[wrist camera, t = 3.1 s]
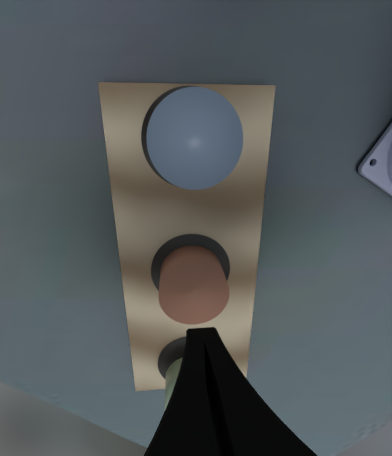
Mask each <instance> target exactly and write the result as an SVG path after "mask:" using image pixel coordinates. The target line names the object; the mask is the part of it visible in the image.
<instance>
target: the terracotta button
mask: <svg viewBox="0 0 392 456" xmlns="http://www.w3.org/2000/svg"><path fill="white" fill-rule="evenodd" d="M158 299H159V304H160V306H161V308H162V310H163V312H164V313H165V314H166V315H167V316H168V317H169V318H171V319H172V320H174V321H176V322H179V323H182V324H189V325H195V324H201V323H205V322H208V321H210V320H212V319H214V318H215V317H217V316H218V315H219V314H220V313H221V312H222V311H223V310H224V308H225V307H226V305H227V303H228V300H229V286H228V283H227V280H226V277H225V275H224V272H223V269H222V267H221V264H220V261H219V260H218V258H217V257H216V255H215V254H214V253H213V252H211V251H210V250H208V249H206V248H204V247H201V246H195V245H190V246H184V247H181V248H178V249H176V250H174V251H173V252H171V253H170V254H169V255H168V256H167V257H166V259H165V260H164V262H163V264H162V267H161V272H160V283H159V294H158Z"/></svg>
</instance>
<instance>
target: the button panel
mask: <svg viewBox="0 0 392 456" xmlns="http://www.w3.org/2000/svg"><path fill="white" fill-rule="evenodd" d="M98 85H99V93H100V102H101V110H102V118H103V126H104V135H105V143H106V151H107V159H108V167H109V176H110V184H111V192H112V200H113V208H114V217H115V225H116V233H117V241H118V250H119V258H120V266H121V274H122V282H123V291H124V299H125V307H126V315H127V323H128V332H129V340H130V348H131V356H132V365H133V373H134V381H135V389H136V391H144V390H155V389H165V381H166V372H167V369H168V368H169V366H170V365H171V364H172V363H173V362H175V361H176V360H178V359H180V358H182V357H183V354H184V349H185V344H186V330H188V329H190V328H206V327H215V328H216V329H217V331H218V333H219V336H220V337H221V339H222V341H223V343H224V345H225V347H226V348H227V350H228V352H229V353H230V355H231V357H232V358H233V360H234V361H235V363H236V364H237V366H238V367H239V369H240V370H241V372H242V373H243V375H244V376H245V377H246V375H247V365H248V355H249V345H250V335H251V325H252V315H253V305H254V296H255V286H256V276H257V266H258V256H259V246H260V236H261V226H262V216H263V206H264V196H265V186H266V176H267V166H268V156H269V146H270V136H271V126H272V116H273V106H274V96H275V86H276V85H226V84H172V83H118V82H98ZM187 87H203V88H207V89H210V90H213V91H215V92H217V93H219V94H220V95H222V96H223V97H224V98H226V99H227V100H228V101H229V102H230V103H231V105H232V106H233V107H234V109H235V110H236V112H237V114H238V116H239V119H240V121H241V125H242V129H243V147H242V152H241V155H240V158H239V161H238V163H237V164H236V166H235V168H234V169H233V171H232V172H231V173H230V174H229V175H228V176H227V177H226V178H225V179H224V180H223V181H221V182H220V183H218V184H216V185H214V186H212V187H209V188H206V189H201V190H189V189H184V188H180V187H178V186H175V185H173V184H172V183H170V182H168V181H167V180H166V179H165V178H163V177H162V176H161V175H160V173H159V172H158V171H157V170H156V168H155V167H154V165H153V163H152V161H151V159H150V156H149V153H148V149H147V128H148V124H149V120H150V118H151V115H152V113H153V112H154V110H155V108H156V107H157V106H158V104H159V103H160V102H161V101H162V100H163V99H164V98H165V97H167V96H168V95H169V94H171V93H173V92H175V91H177V90H179V89H182V88H187ZM190 245H195V246H201V247H204V248H206V249H208V250H210V251H211V252H213V253H214V254H215V255H216V257H217V258H218V260H219V261H220V264H221V267H222V269H223V272H224V275H225V277H226V280H227V283H228V286H229V300H228V303H227V305H226V307H225V308H224V310H223V311H222V312H221V313H220V314H219V315H218V316H217V317H215V318H214V319H212V320H210V321H208V322H205V323H201V324H195V325H189V324H182V323H179V322H176V321H174V320H172V319H171V318H169V317H168V316H167V315H166V314H165V313H164V312H163V310H162V308H161V306H160V304H159V299H158V294H159V283H160V272H161V267H162V264H163V262H164V260H165V259H166V257H167V256H168V255H169V254H170V253H171V252H173V251H174V250H176V249H178V248H181V247H184V246H190Z"/></svg>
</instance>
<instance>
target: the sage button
mask: <svg viewBox="0 0 392 456" xmlns="http://www.w3.org/2000/svg"><path fill="white" fill-rule="evenodd" d="M182 358H183V357H182ZM182 358H180V359H178V360H176V361H175V362H173V363H172V364H171V365H170V366H169V368H168V369H167V372H166V381H165V410H166V407H167V405H168V402H169V400H170V397H171V394H172V392H173V389H174V386H175V383H176V380H177V376H178V373H179V370H180V366H181V362H182Z"/></svg>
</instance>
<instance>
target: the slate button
mask: <svg viewBox="0 0 392 456" xmlns="http://www.w3.org/2000/svg"><path fill="white" fill-rule="evenodd" d="M242 147H243V129H242V125H241V121H240V119H239V116H238V114H237V112H236V110H235V109H234V107H233V106H232V105H231V103H230V102H229V101H228V100H227V99H226V98H224V97H223V96H222V95H220V94H219V93H217V92H215V91H213V90H210V89H207V88H203V87H187V88H182V89H179V90H177V91H175V92H173V93H171V94H169V95H168V96H167V97H165V98H164V99H163V100H162V101H161V102H160V103H159V104H158V106H157V107H156V108H155V110H154V112H153V113H152V115H151V118H150V120H149V124H148V128H147V149H148V153H149V156H150V159H151V161H152V163H153V165H154V167H155V168H156V170H157V171H158V172H159V173H160V175H161V176H162V177H163V178H165V179H166V180H167V181H168V182H170V183H172V184H173V185H175V186H178V187H180V188H184V189H189V190H201V189H206V188H209V187H212V186H214V185H216V184H218V183H220V182H221V181H223V180H224V179H225V178H226V177H227V176H228V175H229V174H230V173H231V172H232V171H233V169H234V168H235V166H236V164H237V163H238V161H239V158H240V155H241V152H242Z"/></svg>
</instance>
